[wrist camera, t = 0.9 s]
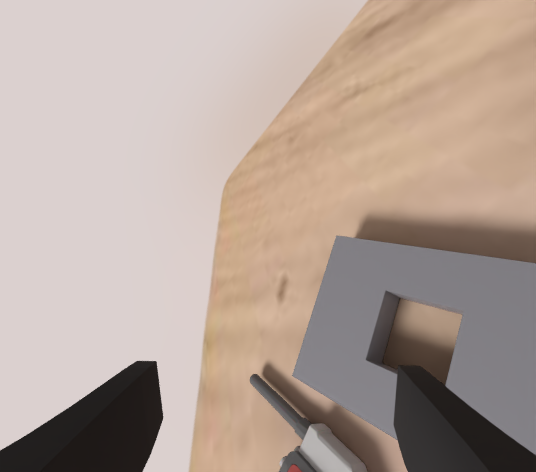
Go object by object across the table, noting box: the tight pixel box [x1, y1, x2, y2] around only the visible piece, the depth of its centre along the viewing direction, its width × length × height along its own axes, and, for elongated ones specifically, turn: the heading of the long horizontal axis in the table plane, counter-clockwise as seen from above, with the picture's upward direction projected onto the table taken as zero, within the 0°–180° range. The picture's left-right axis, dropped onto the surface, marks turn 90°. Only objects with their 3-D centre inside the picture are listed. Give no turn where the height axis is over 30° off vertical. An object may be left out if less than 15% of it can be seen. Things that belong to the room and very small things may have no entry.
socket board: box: [292, 236, 536, 455], centre depth 21 cm, size 16×12×2 cm
